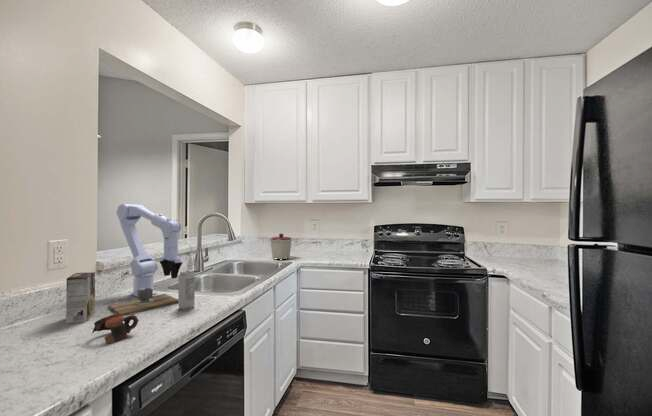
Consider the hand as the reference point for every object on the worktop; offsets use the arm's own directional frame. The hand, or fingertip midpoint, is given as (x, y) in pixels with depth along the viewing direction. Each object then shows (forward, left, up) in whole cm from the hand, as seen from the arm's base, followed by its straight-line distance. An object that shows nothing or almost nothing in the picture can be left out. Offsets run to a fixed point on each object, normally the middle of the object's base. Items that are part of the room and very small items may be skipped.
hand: (170, 276), depth 138 cm
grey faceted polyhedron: (+4, -12, -6) cm, 14 cm away
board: (+4, -12, -9) cm, 16 cm away
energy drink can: (+20, -2, -10) cm, 22 cm away
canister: (-42, +104, -10) cm, 113 cm away
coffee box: (+3, -33, -10) cm, 34 cm away
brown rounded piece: (+31, -30, -10) cm, 44 cm away
